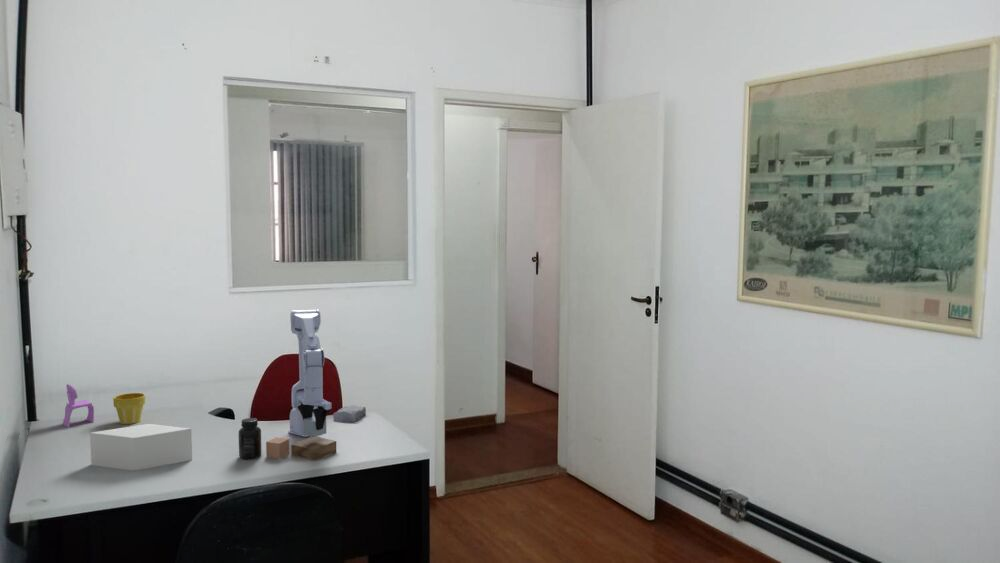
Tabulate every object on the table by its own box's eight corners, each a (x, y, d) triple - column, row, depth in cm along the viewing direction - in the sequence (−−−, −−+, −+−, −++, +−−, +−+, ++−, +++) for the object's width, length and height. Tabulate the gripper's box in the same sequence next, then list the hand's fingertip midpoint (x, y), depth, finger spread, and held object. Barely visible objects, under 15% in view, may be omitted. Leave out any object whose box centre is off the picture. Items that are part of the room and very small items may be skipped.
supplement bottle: (266, 454, 225) (265, 418, 224) (252, 461, 218) (251, 423, 217) (248, 451, 227) (247, 415, 226) (234, 458, 220) (233, 421, 219)
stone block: (331, 425, 263) (356, 422, 261) (329, 413, 263) (353, 409, 261) (344, 418, 275) (368, 414, 273) (342, 406, 275) (366, 402, 273)
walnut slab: (291, 456, 224) (291, 444, 224) (313, 447, 233) (313, 436, 233) (314, 462, 220) (314, 449, 219) (336, 452, 228) (336, 441, 228)
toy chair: (96, 422, 256) (94, 382, 254) (69, 428, 249) (67, 387, 248) (87, 418, 261) (86, 379, 260) (61, 423, 254) (59, 383, 253)
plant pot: (121, 418, 262) (120, 392, 261) (150, 417, 263) (149, 392, 262) (109, 426, 252) (108, 399, 251) (139, 425, 253) (138, 399, 252)
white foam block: (186, 468, 212) (185, 435, 211) (81, 473, 206) (80, 440, 205) (197, 452, 226) (196, 421, 225) (100, 457, 220) (98, 425, 219)
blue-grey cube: (303, 434, 225) (303, 419, 225) (315, 430, 230) (315, 415, 229) (314, 437, 223) (314, 421, 222) (326, 433, 227) (326, 418, 226)
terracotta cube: (266, 457, 223) (266, 441, 222) (276, 452, 227) (276, 437, 227) (279, 459, 221) (279, 443, 221) (289, 454, 226) (289, 439, 225)
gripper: (288, 385, 225) (289, 426, 226) (319, 392, 217) (319, 434, 218) (306, 381, 231) (306, 421, 232) (336, 388, 223) (336, 429, 224)
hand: (313, 427), depth 225 cm, fingers closed on blue-grey cube, 5 cm apart
